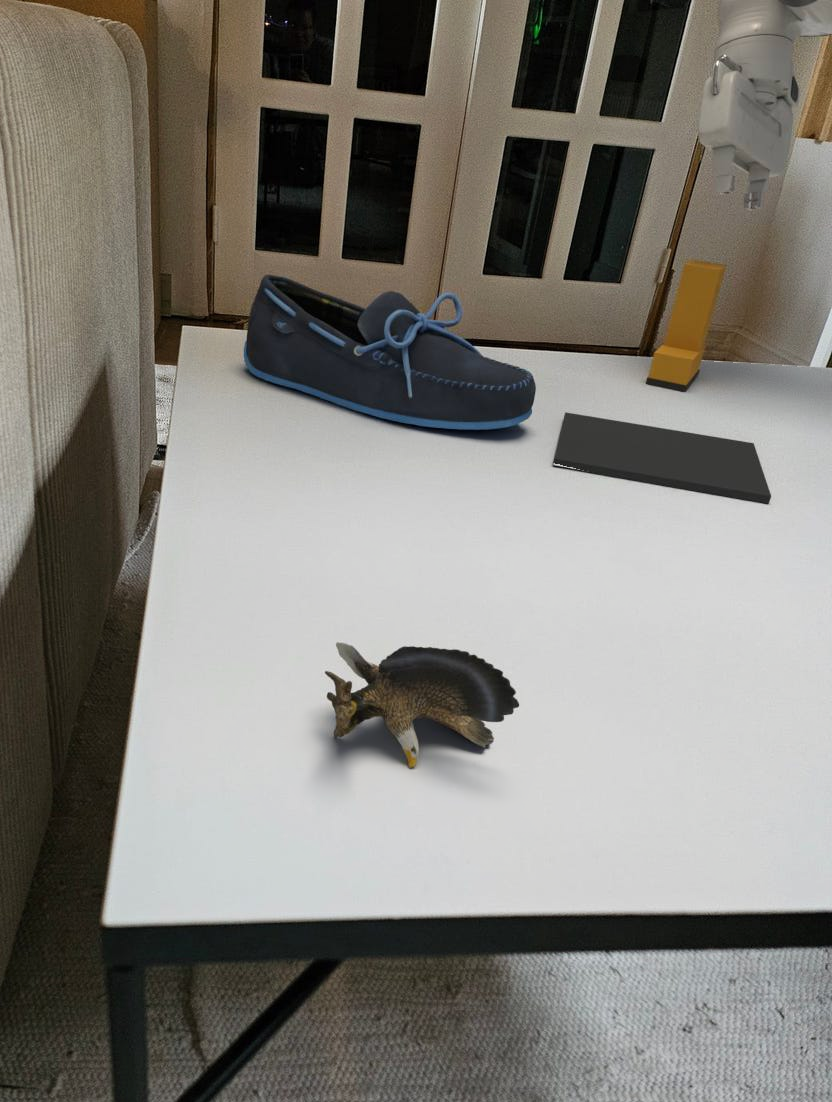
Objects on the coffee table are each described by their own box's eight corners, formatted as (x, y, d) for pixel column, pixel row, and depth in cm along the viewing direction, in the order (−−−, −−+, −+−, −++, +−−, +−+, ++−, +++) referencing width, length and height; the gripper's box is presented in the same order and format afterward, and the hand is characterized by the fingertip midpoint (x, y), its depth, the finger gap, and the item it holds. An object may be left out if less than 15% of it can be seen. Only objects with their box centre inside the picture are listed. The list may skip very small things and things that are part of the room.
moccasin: (505, 455, 92) (527, 332, 86) (203, 384, 103) (204, 271, 97) (542, 419, 103) (564, 308, 97) (266, 359, 114) (270, 256, 108)
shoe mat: (751, 450, 100) (753, 443, 100) (768, 504, 87) (771, 496, 86) (563, 419, 104) (565, 412, 103) (552, 466, 90) (554, 458, 90)
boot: (661, 367, 128) (689, 258, 121) (698, 375, 126) (729, 265, 119) (645, 383, 120) (674, 267, 113) (685, 392, 118) (717, 274, 111)
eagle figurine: (354, 791, 45) (532, 751, 46) (325, 645, 45) (504, 609, 46) (336, 771, 53) (489, 738, 54) (311, 646, 53) (465, 616, 54)
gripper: (745, 41, 103) (733, 177, 106) (804, 95, 118) (792, 213, 121) (689, 56, 107) (678, 186, 110) (753, 107, 122) (742, 220, 125)
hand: (738, 201), depth 115 cm, fingers open, 8 cm apart
